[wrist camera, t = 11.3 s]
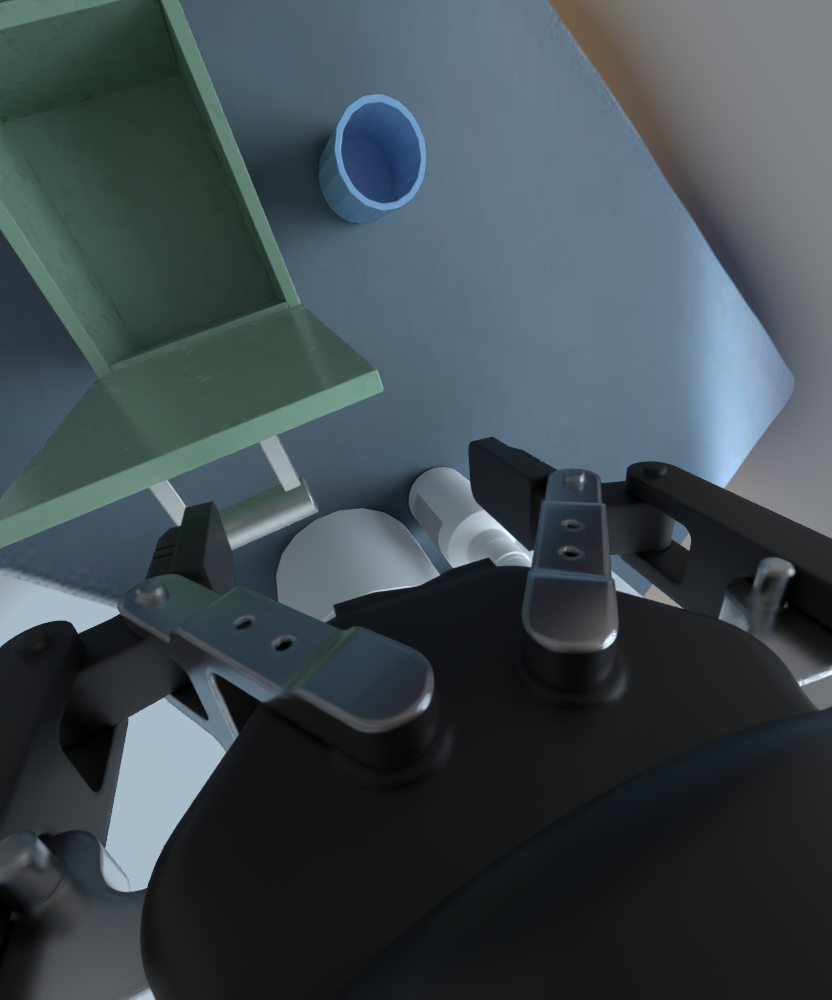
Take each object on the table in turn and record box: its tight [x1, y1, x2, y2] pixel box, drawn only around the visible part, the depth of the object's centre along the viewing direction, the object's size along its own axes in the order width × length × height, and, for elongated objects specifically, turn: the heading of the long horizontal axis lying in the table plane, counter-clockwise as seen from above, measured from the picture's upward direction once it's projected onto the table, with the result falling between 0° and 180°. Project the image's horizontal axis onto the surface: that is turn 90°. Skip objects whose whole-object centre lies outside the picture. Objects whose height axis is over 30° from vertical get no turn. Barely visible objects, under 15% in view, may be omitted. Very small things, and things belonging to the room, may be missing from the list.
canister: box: [276, 508, 440, 622], centre depth 41 cm, size 16×16×20 cm
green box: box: [0, 0, 301, 378], centre depth 28 cm, size 16×13×10 cm
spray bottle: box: [409, 467, 532, 568], centre depth 42 cm, size 7×7×18 cm
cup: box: [318, 94, 426, 224], centre depth 32 cm, size 6×6×8 cm
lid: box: [0, 304, 384, 550], centre depth 22 cm, size 16×13×5 cm
